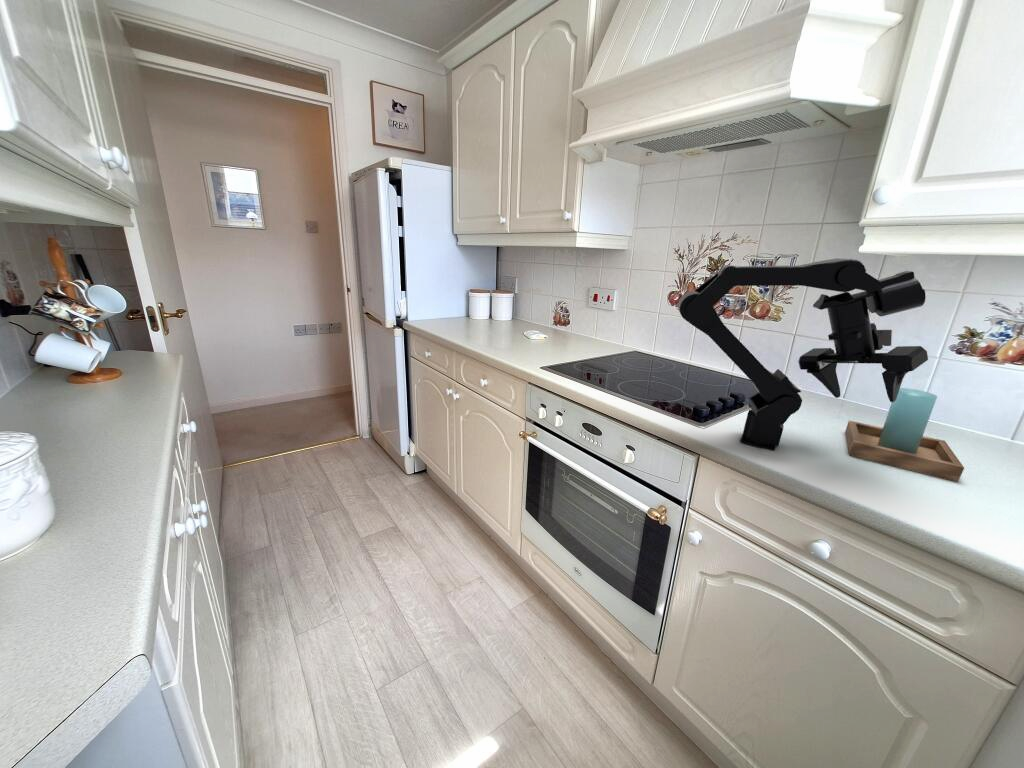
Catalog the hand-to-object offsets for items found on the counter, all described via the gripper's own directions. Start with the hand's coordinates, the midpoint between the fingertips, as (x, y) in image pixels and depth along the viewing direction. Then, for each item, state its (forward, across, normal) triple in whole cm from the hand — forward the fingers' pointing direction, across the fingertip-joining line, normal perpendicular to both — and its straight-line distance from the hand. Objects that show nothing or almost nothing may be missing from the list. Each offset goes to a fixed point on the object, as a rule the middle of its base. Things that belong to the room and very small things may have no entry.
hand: (864, 399), depth 80 cm
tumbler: (+14, 0, -6) cm, 16 cm away
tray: (+15, 0, -6) cm, 17 cm away
